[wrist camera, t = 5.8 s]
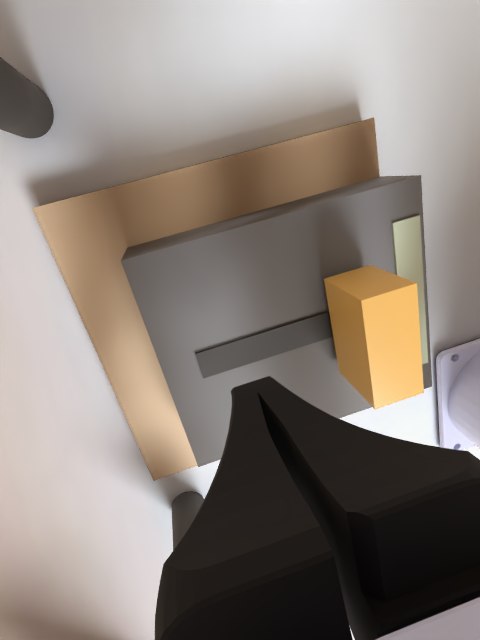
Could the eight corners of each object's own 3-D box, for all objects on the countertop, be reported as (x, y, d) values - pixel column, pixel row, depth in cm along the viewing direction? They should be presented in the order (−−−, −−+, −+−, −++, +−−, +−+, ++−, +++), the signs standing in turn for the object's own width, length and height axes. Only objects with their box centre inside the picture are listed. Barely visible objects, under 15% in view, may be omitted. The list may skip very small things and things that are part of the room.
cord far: (199, 487, 23) (211, 584, 17) (208, 510, 24) (222, 610, 18) (167, 498, 23) (169, 600, 17) (177, 521, 23) (183, 626, 18)
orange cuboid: (370, 264, 15) (416, 283, 12) (380, 357, 17) (423, 392, 14) (323, 278, 15) (361, 300, 12) (339, 371, 17) (375, 409, 14)
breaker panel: (362, 121, 17) (418, 103, 14) (390, 387, 23) (435, 427, 19) (39, 206, 16) (2, 213, 12) (154, 468, 22) (152, 528, 18)
